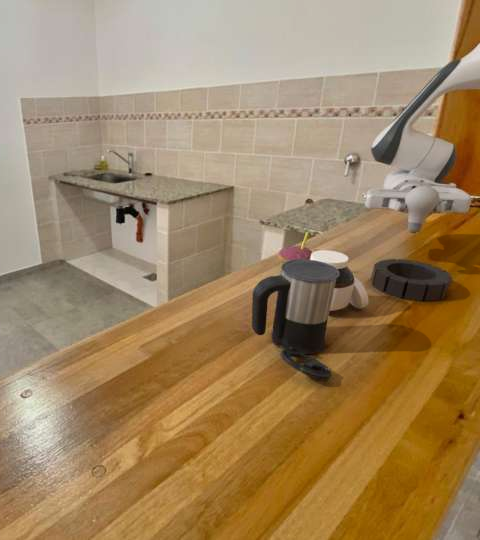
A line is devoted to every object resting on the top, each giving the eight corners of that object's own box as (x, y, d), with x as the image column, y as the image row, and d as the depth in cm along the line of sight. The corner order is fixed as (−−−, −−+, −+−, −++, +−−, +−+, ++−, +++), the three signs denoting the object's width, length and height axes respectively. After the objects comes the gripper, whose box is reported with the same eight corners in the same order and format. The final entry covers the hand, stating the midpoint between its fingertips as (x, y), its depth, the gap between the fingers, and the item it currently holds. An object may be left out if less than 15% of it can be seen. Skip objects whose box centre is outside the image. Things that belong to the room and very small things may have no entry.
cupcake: (313, 269, 99) (321, 225, 94) (310, 282, 92) (317, 236, 87) (278, 264, 103) (284, 221, 98) (272, 276, 97) (278, 231, 92)
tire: (436, 278, 91) (441, 263, 89) (453, 306, 79) (459, 288, 78) (368, 270, 96) (371, 256, 95) (374, 295, 85) (378, 279, 83)
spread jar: (288, 301, 85) (295, 252, 80) (322, 288, 89) (331, 241, 85) (338, 326, 75) (350, 272, 70) (374, 310, 80) (387, 258, 75)
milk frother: (298, 322, 77) (309, 254, 71) (371, 368, 63) (391, 289, 57) (240, 340, 73) (246, 270, 66) (304, 393, 59) (319, 311, 53)
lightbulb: (403, 237, 87) (415, 189, 83) (392, 228, 92) (403, 183, 88) (434, 237, 86) (448, 189, 81) (421, 229, 91) (434, 183, 86)
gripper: (364, 181, 100) (369, 193, 89) (463, 183, 91) (483, 197, 80) (359, 204, 103) (364, 219, 91) (455, 209, 94) (473, 225, 83)
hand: (420, 209), depth 86 cm, fingers closed on lightbulb, 6 cm apart
